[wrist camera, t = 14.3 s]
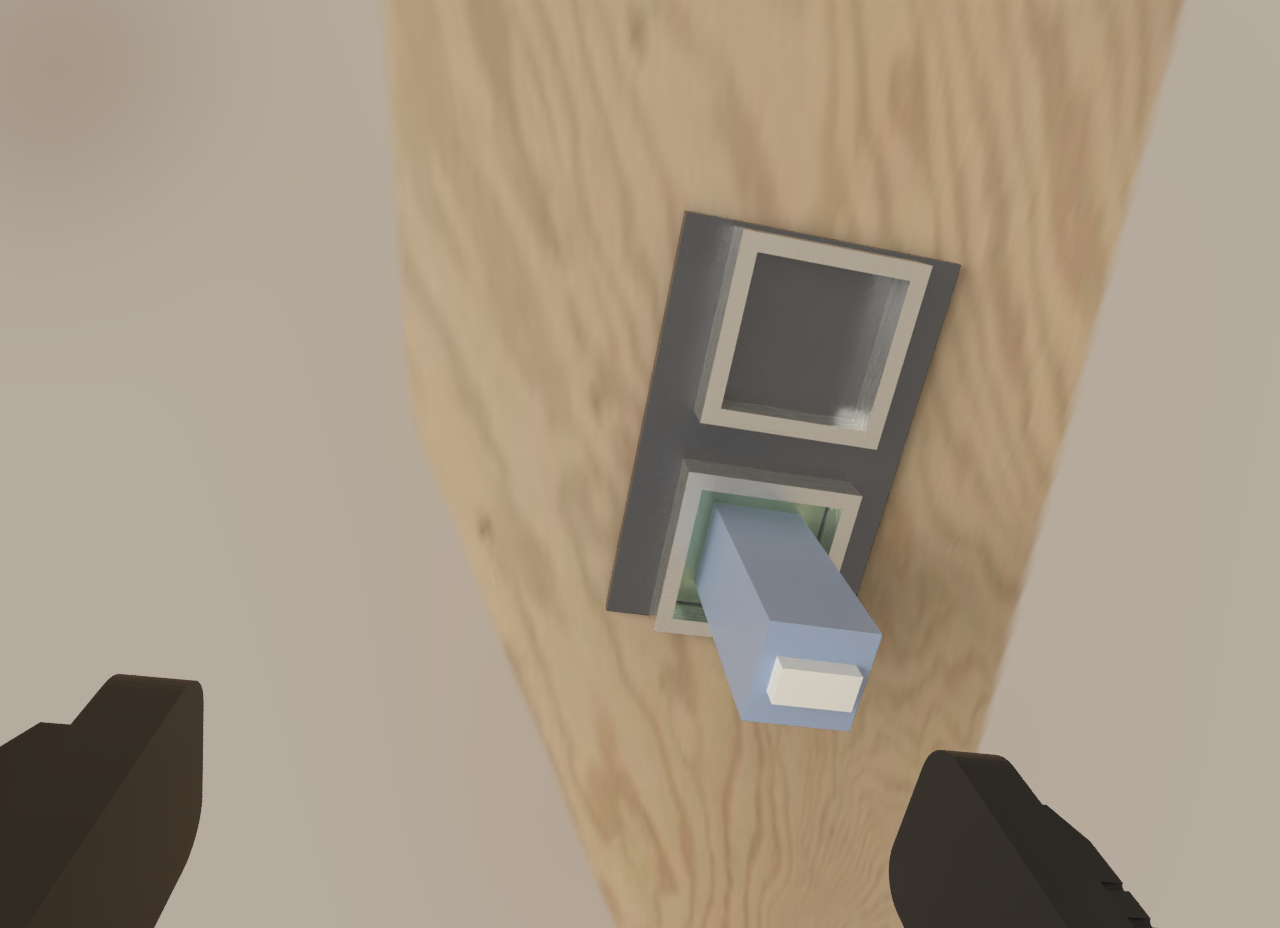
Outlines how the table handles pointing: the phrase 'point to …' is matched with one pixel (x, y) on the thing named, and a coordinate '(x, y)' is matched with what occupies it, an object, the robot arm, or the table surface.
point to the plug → (783, 620)
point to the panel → (773, 400)
